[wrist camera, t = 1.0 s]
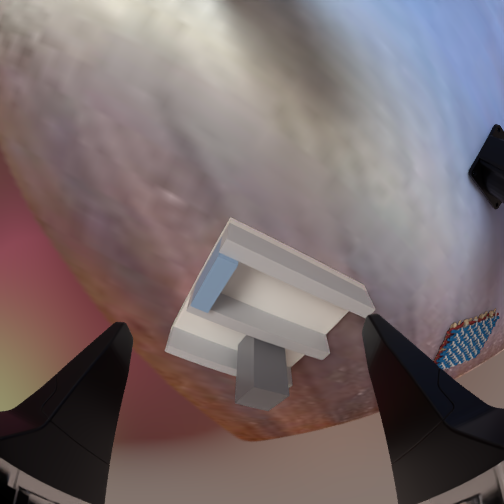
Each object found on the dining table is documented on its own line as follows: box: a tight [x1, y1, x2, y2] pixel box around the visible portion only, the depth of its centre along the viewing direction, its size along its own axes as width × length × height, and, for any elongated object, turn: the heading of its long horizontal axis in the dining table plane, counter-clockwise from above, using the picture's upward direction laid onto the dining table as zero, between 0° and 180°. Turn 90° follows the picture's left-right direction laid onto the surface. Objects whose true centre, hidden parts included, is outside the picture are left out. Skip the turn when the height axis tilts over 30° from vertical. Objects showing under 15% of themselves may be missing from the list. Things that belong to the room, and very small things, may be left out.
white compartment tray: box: [165, 217, 375, 388], centre depth 25 cm, size 14×14×4 cm
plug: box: [235, 335, 289, 411], centre depth 25 cm, size 3×3×7 cm
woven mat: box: [434, 309, 499, 369], centre depth 31 cm, size 10×11×2 cm
